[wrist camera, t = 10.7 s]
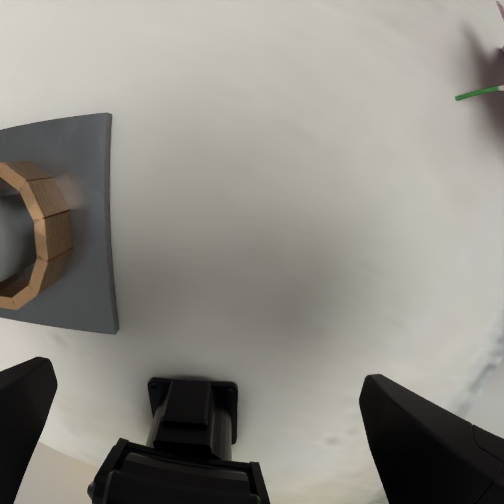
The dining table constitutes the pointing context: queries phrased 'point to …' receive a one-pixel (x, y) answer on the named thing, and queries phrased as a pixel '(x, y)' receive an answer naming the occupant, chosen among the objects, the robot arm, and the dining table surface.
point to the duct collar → (62, 223)
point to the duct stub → (15, 236)
